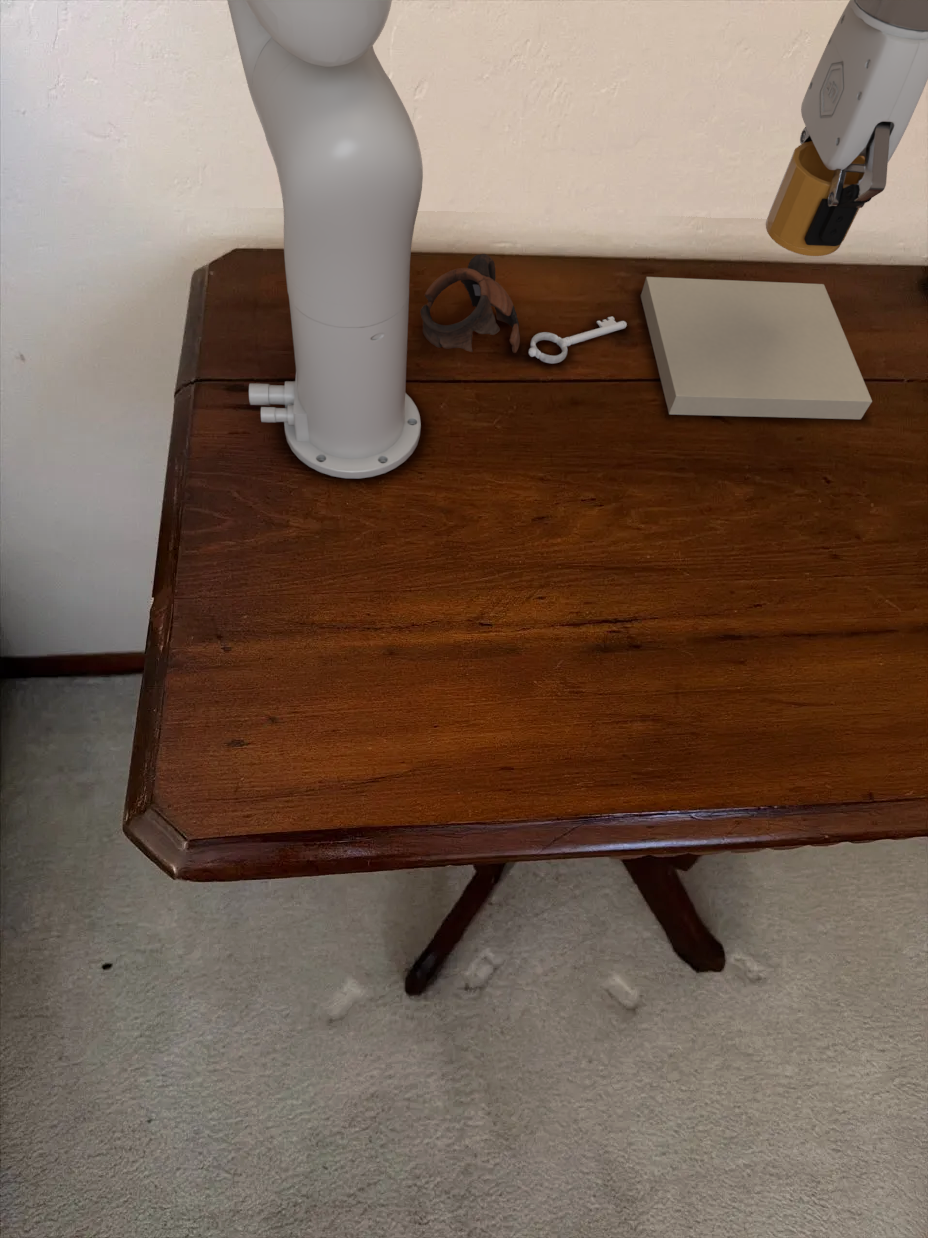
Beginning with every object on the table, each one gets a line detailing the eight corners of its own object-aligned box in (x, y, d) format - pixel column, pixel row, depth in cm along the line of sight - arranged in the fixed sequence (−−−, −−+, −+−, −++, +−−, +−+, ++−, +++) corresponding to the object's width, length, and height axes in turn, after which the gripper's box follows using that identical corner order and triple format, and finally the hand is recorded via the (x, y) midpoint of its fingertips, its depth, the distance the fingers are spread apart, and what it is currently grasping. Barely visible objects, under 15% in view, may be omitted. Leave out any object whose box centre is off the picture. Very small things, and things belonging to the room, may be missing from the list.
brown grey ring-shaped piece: (524, 377, 89) (494, 328, 82) (439, 391, 93) (404, 345, 86) (532, 278, 93) (504, 223, 85) (450, 295, 96) (417, 244, 89)
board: (668, 414, 87) (676, 395, 85) (640, 295, 97) (646, 276, 95) (860, 419, 89) (872, 401, 87) (814, 302, 99) (823, 283, 97)
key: (518, 344, 91) (539, 370, 89) (519, 336, 90) (540, 362, 88) (614, 315, 94) (636, 339, 93) (616, 308, 94) (638, 332, 92)
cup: (775, 254, 78) (805, 185, 73) (757, 207, 82) (784, 137, 76) (850, 257, 79) (885, 189, 73) (829, 210, 82) (861, 142, 77)
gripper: (828, -64, 68) (748, 158, 83) (897, 49, 59) (793, 277, 74) (920, -57, 69) (824, 162, 84) (1003, 56, 60) (878, 280, 75)
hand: (810, 214), depth 79 cm, fingers closed on cup, 7 cm apart
